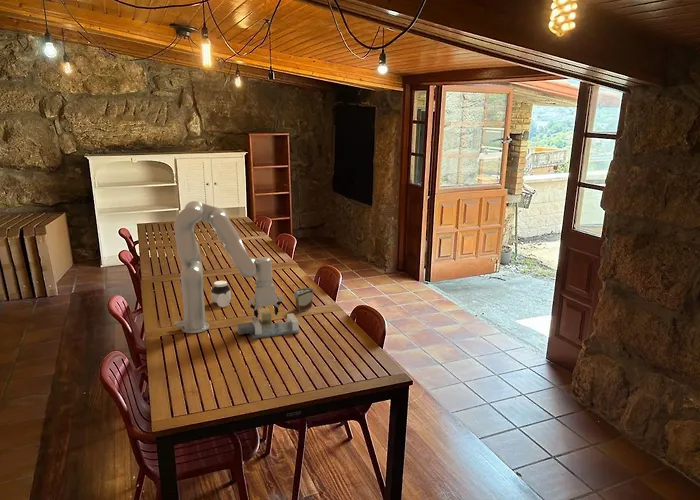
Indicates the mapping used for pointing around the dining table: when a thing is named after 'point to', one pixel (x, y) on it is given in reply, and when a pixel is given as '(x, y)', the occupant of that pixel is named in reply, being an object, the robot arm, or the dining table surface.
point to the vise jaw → (250, 327)
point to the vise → (279, 328)
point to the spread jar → (221, 293)
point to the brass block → (265, 316)
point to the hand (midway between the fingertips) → (266, 315)
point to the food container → (303, 298)
